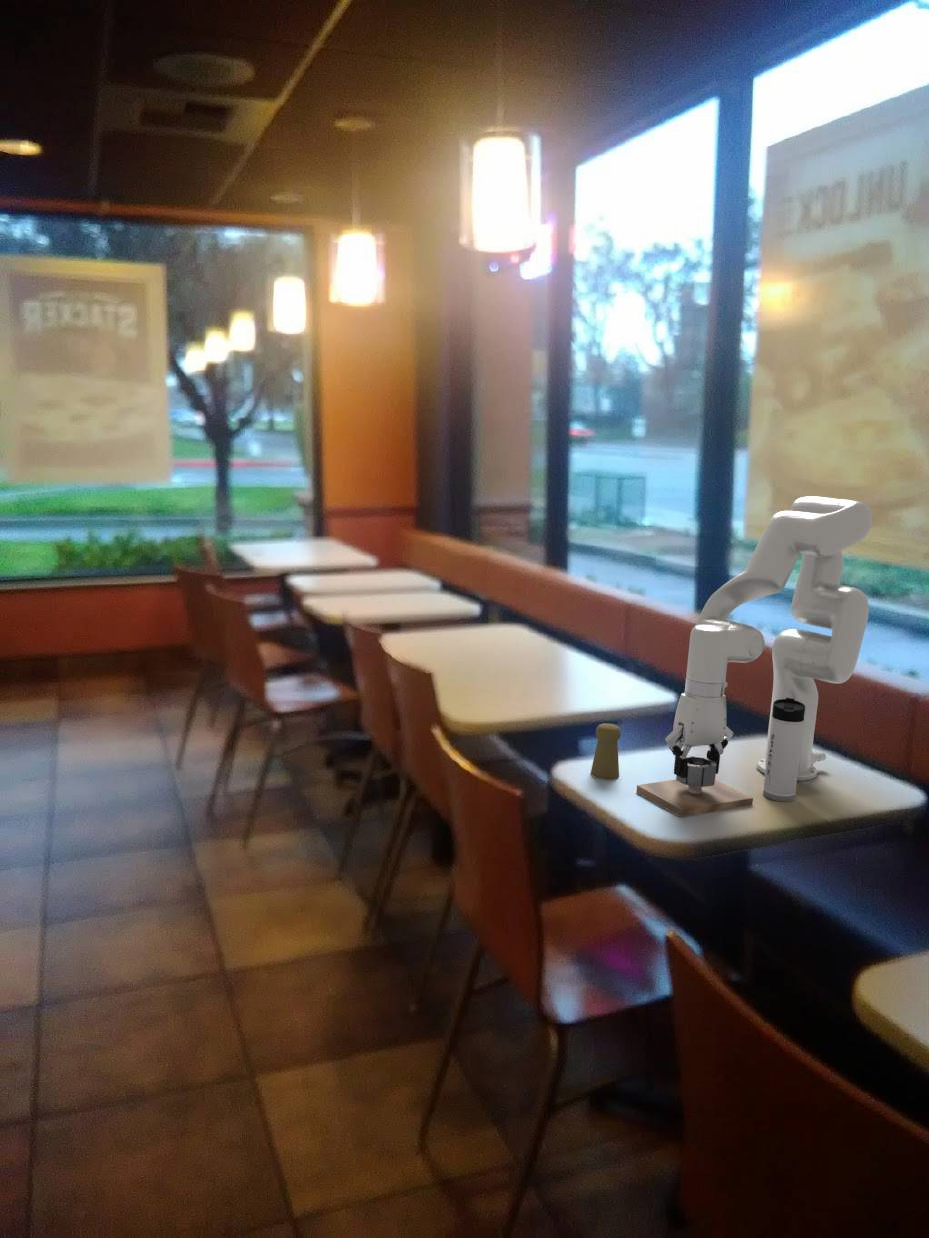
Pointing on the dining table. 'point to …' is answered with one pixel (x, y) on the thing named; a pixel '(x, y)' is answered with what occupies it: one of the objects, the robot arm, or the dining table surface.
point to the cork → (606, 752)
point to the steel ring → (699, 771)
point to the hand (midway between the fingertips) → (695, 773)
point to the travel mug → (784, 750)
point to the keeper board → (693, 797)
